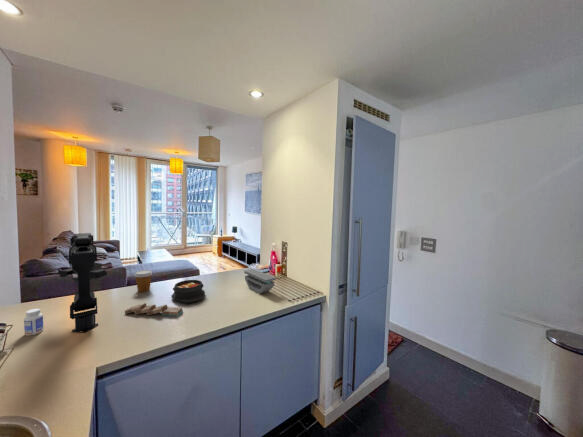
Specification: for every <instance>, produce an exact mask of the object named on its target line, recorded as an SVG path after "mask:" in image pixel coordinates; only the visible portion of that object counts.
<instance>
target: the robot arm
mask: <svg viewBox="0 0 583 437" xmlns="http://www.w3.org/2000/svg"><path fill="white" fill-rule="evenodd" d="M69 242H70V246H71V247H70V248H69V249H68V265H71V267H70V268H68V269H64V270H61V271H60V273H59V277H60V278H67V277H68V276H69V275H72V277H71V280H73V281H74V282H75V283H76V284H77V292H75V294H74V297H73V301H72V302H71V304H70V305H69V318H70V319H71V320H74V329H72V330H71V332H76V333H86V332H88V331H90V330H92V329H94V328H95V327H97V326H98V325H99V323H97V322H96V314H98V300H97V298H98V297H96V296H95V294H96V293H95V291H94V290H93V289H91V280H92V279H94V280H95V279H96V280H97V279H100V278H103V277H105V276H108V275H107V274H108V273H107V272H108V271H107V270H106V269H102V267H103V263H101V262H98V254H97V253H98V252H97V251H98V250H97V247H96V246H95V245H94V235H93V234H92V233H91V232H85V233H82V232H81V233H73V236H71V238H70V239H69Z"/></svg>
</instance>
